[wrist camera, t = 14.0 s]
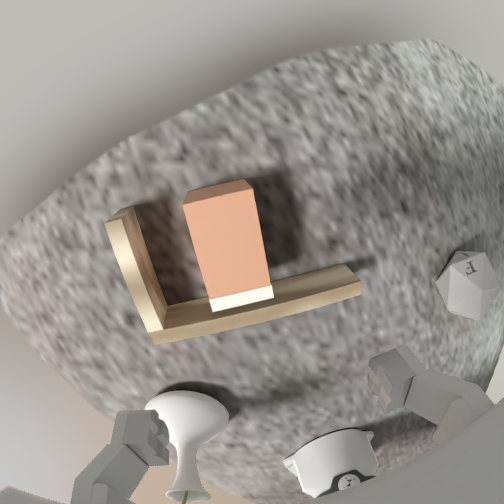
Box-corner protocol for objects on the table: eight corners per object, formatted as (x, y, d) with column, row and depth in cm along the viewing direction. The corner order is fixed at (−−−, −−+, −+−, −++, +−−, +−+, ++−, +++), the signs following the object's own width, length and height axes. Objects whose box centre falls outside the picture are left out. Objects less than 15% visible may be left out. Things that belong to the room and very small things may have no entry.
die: (473, 241, 32) (501, 241, 23) (485, 299, 32) (513, 313, 22) (425, 259, 36) (443, 264, 26) (438, 318, 35) (456, 338, 26)
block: (244, 178, 24) (253, 188, 20) (262, 270, 28) (273, 297, 23) (186, 192, 24) (181, 205, 20) (211, 282, 28) (212, 312, 23)
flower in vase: (205, 372, 32) (226, 580, 9) (240, 418, 37) (271, 575, 14) (119, 395, 32) (98, 566, 9) (163, 436, 37) (165, 577, 14)
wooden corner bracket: (344, 275, 30) (361, 294, 26) (159, 320, 29) (154, 344, 25) (334, 161, 25) (355, 167, 21) (118, 210, 24) (104, 223, 20)
